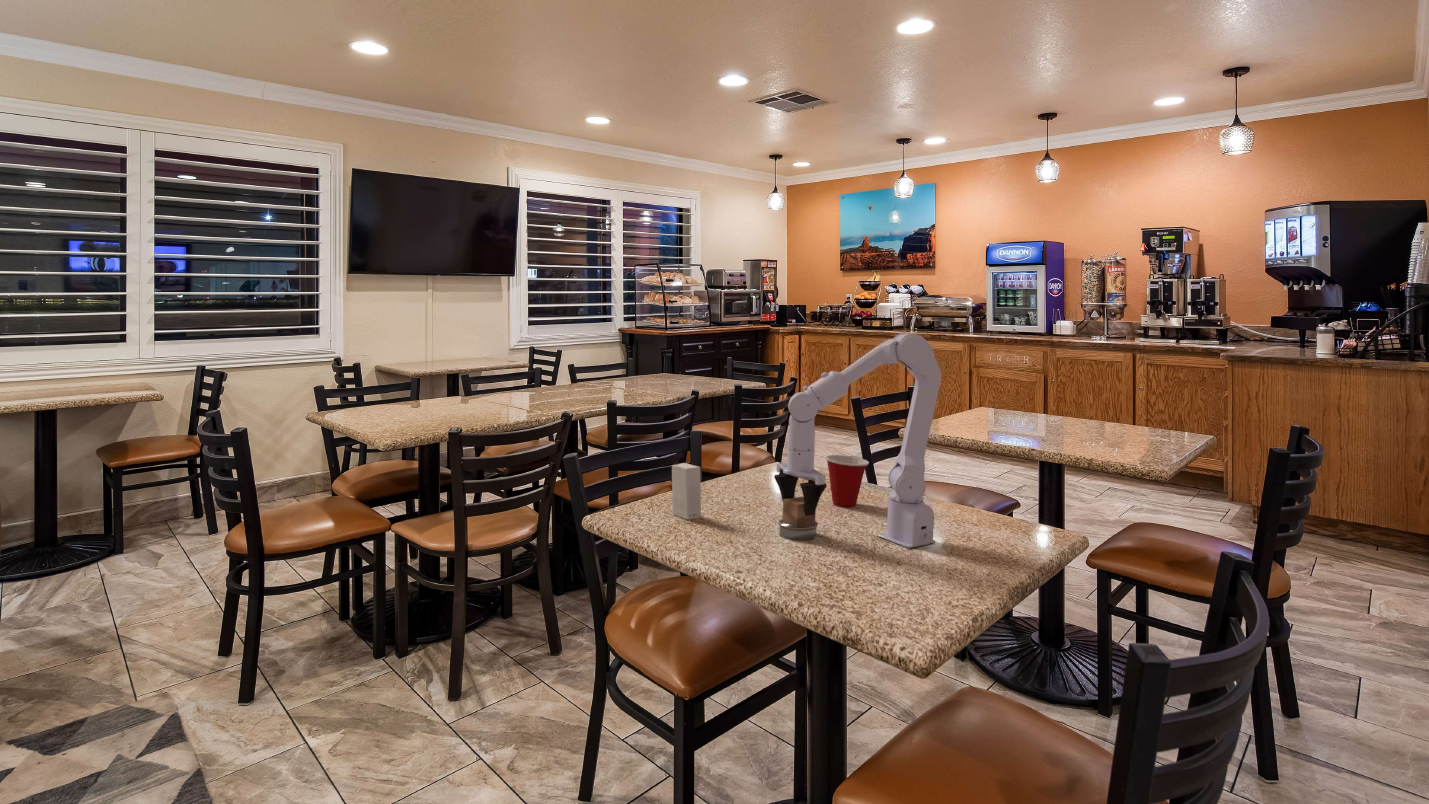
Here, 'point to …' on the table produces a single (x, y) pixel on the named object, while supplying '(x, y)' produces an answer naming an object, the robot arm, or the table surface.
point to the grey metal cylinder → (797, 531)
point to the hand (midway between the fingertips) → (798, 510)
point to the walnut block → (796, 513)
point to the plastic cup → (845, 478)
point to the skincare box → (686, 491)
